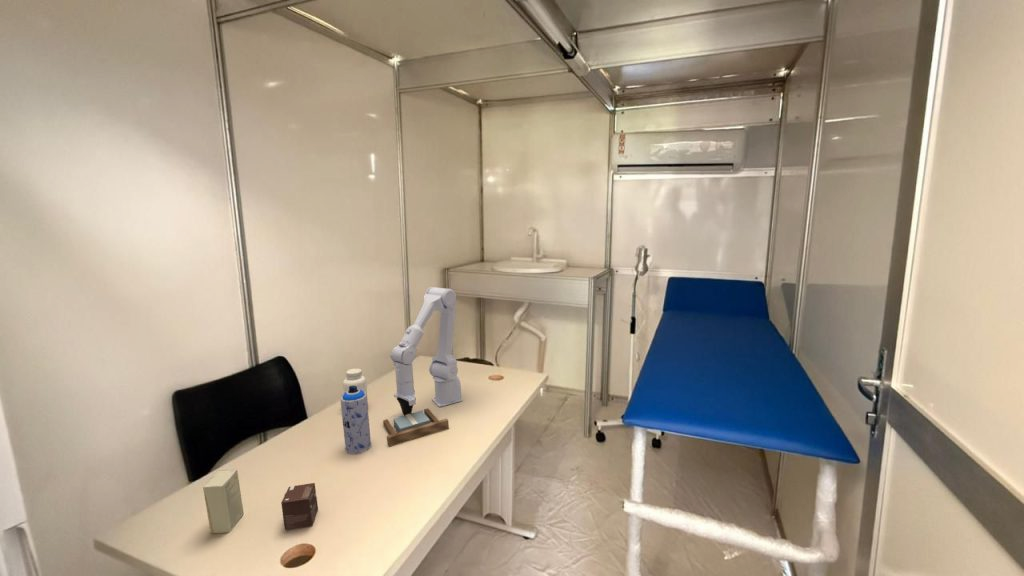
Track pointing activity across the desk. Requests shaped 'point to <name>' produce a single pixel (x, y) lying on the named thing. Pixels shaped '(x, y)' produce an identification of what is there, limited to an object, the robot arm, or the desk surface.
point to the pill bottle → (355, 380)
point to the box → (299, 506)
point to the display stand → (415, 429)
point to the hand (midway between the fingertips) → (407, 416)
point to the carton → (410, 421)
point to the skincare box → (223, 501)
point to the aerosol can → (355, 421)
